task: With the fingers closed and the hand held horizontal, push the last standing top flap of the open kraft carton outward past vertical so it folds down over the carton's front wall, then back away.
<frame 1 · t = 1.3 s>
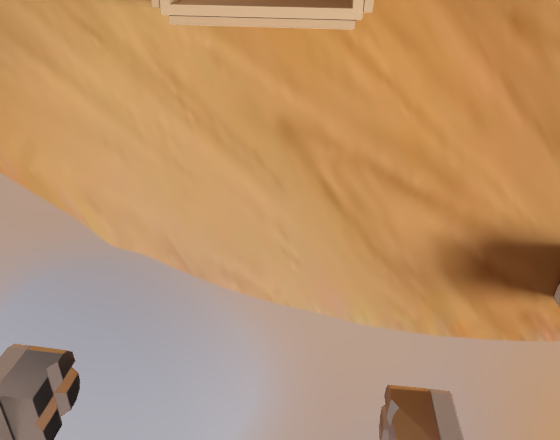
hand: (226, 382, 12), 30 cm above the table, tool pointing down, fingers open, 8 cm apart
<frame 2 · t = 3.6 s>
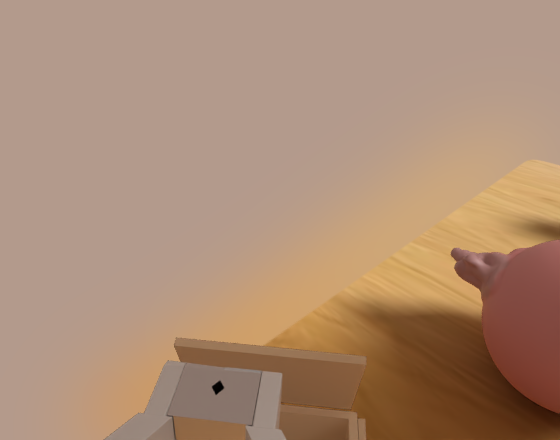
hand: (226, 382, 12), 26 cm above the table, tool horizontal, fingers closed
balloon: (523, 372, 47), on the table
front flap: (270, 376, 30), point 12 cm above the table, hinge at 70.0°
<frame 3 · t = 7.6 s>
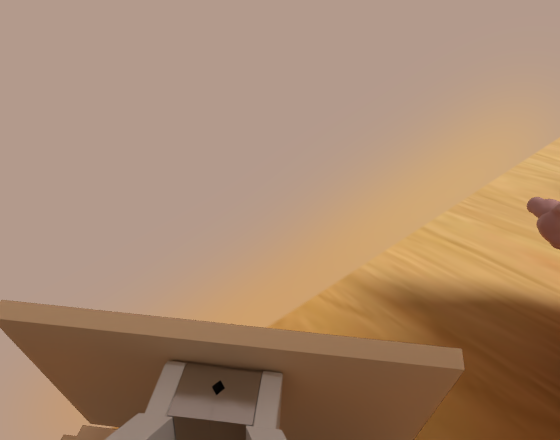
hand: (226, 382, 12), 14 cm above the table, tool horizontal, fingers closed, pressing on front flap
front flap: (233, 393, 14), point 12 cm above the table, hinge at 70.5°, touching gripper
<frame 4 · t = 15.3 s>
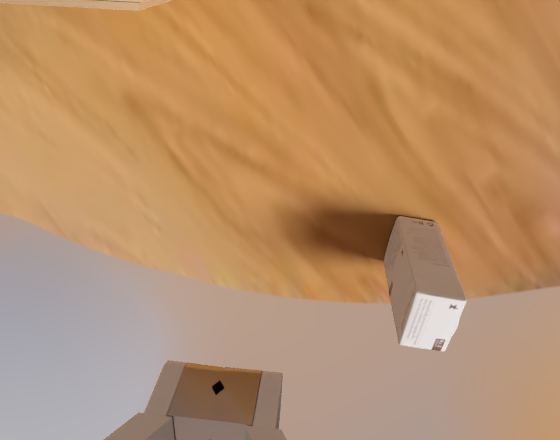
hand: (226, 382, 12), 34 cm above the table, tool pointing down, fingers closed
skincare box: (410, 242, 49), on the table
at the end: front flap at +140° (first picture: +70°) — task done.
